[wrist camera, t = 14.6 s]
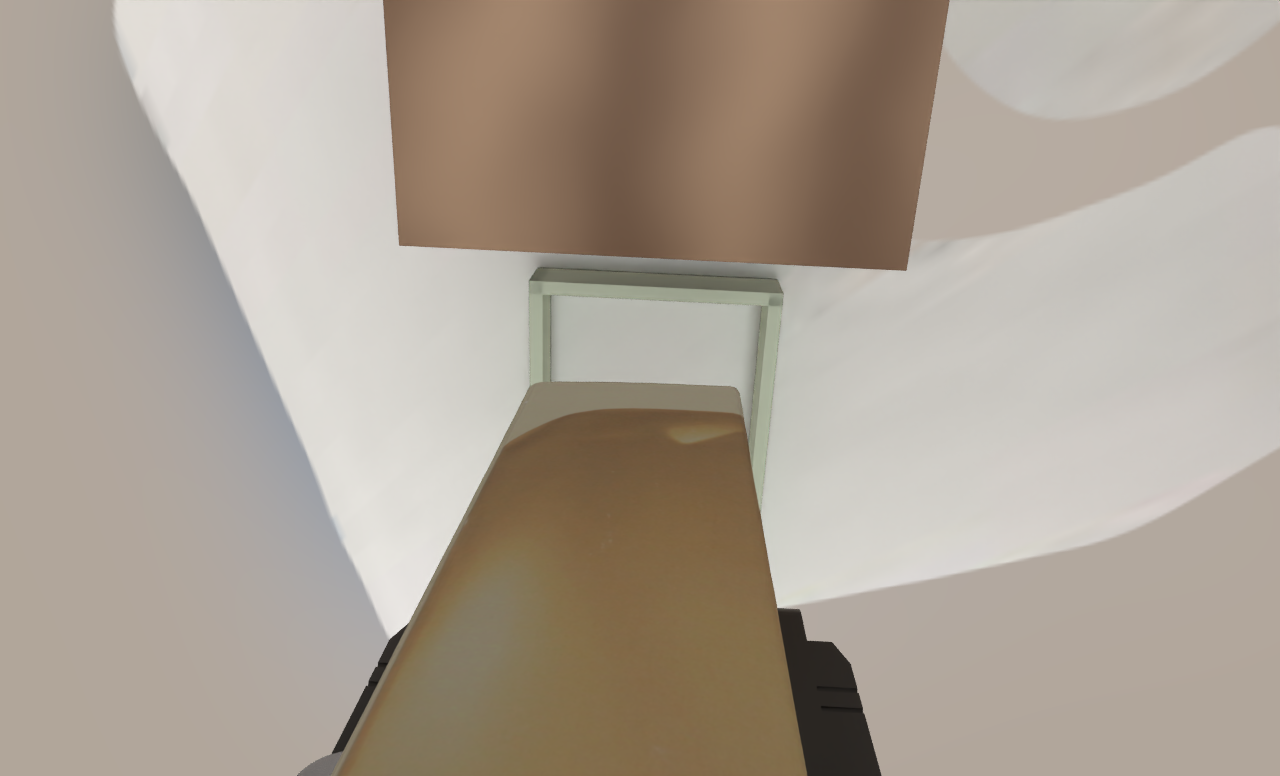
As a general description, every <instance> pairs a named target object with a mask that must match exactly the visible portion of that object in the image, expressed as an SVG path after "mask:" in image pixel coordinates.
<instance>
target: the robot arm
mask: <svg viewBox="0 0 1280 776" xmlns="http://www.w3.org/2000/svg"><path fill="white" fill-rule="evenodd" d="M777 610H778V616H779V622H780V628H781V633H782V639H783V644H784V650H785V655H786V661H787V667H788V672H789V678H790V683H791V689H792V695H793V700H794V706H795V712H796V717H797V723H798V728H799V733H800V739H801V744H802V749H803V755H804V760H805V766H806V771H807V776H881V772H880V769H879V765H878V762H877V758H876V754H875V751H874V747H873V743H872V740H871V736H870V733H869V729H868V725H867V722H866V718H865V715H864V713H863V707H862V704H861V700H860V696H859V693H857V685H856V682H855V678H854V675H853V671H852V668H851V664H850V663H849V662H848V660H847V659H846V658H845V657H844V656H843V655H842V653H841V652H840V651H839V650H838V649H837V647H836V646H835V645H834V644H833V643H832V642H821V641H807V639H806V634H805V630H804V625H803V620H802V616H801V612H800V610H799V609H784V608H777ZM408 624H409V623H408ZM408 624H407V625H406V626H405V627H404V628H403V629H401V630H400V631H399V632H398V633H397V634H396V635H394V636H393V637H392V638H391V639H390V640H389V642H388V644H387V646H386V648H385V650H384V652H383V654H382V656H381V658H380V660H379V662H378V667H376V668H375V670H374V672H373V673H372V676H371V677H370V679H369V684H368V686H366V687H365V689H364V691H363V693H362V695H361V697H360V699H359V701H358V703H357V705H356V707H355V709H354V711H353V713H352V715H351V717H350V719H349V721H348V723H347V725H346V727H345V729H344V731H343V733H342V735H341V737H340V739H339V741H338V742H337V744H336V746H335V748H334V750H333V752H332V754H331V755H328V756H325V757H323V758H321V759H319V760H317V761H315V762H313V763H312V764H310V765H308V766H307V767H306V768H305V769H303V770H302V771H301V772H300V773H299V774H298V775H297V776H331V774H332V772H333V770H334V768H335V766H336V764H337V763H338V761H339V759H340V757H341V755H342V753H343V751H344V749H345V747H346V745H347V743H348V741H349V739H350V737H351V735H352V733H353V732H354V730H355V728H356V726H357V724H358V722H359V720H360V718H361V716H362V714H363V712H364V710H365V708H366V706H367V704H368V702H369V700H370V698H371V696H372V694H373V692H374V690H375V689H376V687H377V685H378V683H379V681H380V679H381V677H382V675H383V673H384V671H385V669H386V667H387V665H388V663H389V661H390V659H391V657H392V655H393V653H394V651H395V649H396V647H397V645H398V643H399V641H400V639H401V637H402V635H403V633H404V631H405V629H406V627H407V626H408Z"/></svg>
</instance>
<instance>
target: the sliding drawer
mask: <svg viewBox="0 0 1280 776" xmlns="http://www.w3.org/2000/svg"><path fill="white" fill-rule="evenodd" d="M551 295H560V296H579V297H599V298H619V299H638V300H658V301H678V302H697V303H717V304H736V305H756V306H762V310H761V321H760V331H759V341H758V352H757V362H756V372H755V383H754V393H753V403H752V414H751V424H750V434H749V451H750V459H751V465H752V470H753V478H754V483H755V488H756V493H757V499H758V504H759V509H760V512H761V503H762V493H763V484H764V474H765V465H766V456H767V446H768V437H769V427H770V418H771V408H772V399H773V389H774V380H775V371H776V361H777V352H778V342H779V333H780V323H781V314H782V305H783V295H784V293H783V291H782V289H781V287H780V284H779V282H778V280H773V279H754V278H734V277H714V276H694V275H674V274H654V273H634V272H614V271H594V270H574V269H554V268H537V270H536V271H535V273H534V274H533V275H532V277H531V278H530V280H529V355H530V386H531V385H533V384H535V383H539V382H550V332H551Z"/></svg>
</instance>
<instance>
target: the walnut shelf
mask: <svg viewBox="0 0 1280 776" xmlns="http://www.w3.org/2000/svg"><path fill="white" fill-rule="evenodd" d="M383 5H384V21H385V36H386V51H387V67H388V82H389V97H390V113H391V128H392V143H393V159H394V174H395V189H396V205H397V220H398V235H399V246H419V247H440V248H460V249H480V250H500V251H520V252H540V253H560V254H581V255H601V256H621V257H641V258H661V259H681V260H702V261H722V262H742V263H762V264H782V265H802V266H822V267H843V268H863V269H883V270H903V271H906V270H907V264H908V257H909V251H910V245H911V239H912V232H913V226H914V220H915V213H916V207H917V201H918V195H919V188H920V181H921V176H922V170H923V163H924V156H925V150H926V144H927V138H928V132H929V125H930V119H931V113H932V107H933V101H934V100H933V99H934V94H935V88H936V81H937V75H938V69H939V62H940V56H941V50H942V44H943V38H944V32H945V25H946V19H947V13H948V6H949V0H383Z"/></svg>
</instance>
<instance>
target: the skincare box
mask: <svg viewBox="0 0 1280 776" xmlns="http://www.w3.org/2000/svg"><path fill="white" fill-rule="evenodd" d="M331 776H807V771H806V766H805V760H804V755H803V749H802V744H801V739H800V733H799V728H798V723H797V717H796V712H795V706H794V700H793V695H792V689H791V683H790V678H789V672H788V667H787V661H786V655H785V650H784V644H783V639H782V633H781V628H780V622H779V616H778V610H777V604H776V599H775V593H774V588H773V583H772V578H771V573H770V567H769V561H768V555H767V549H766V544H765V538H764V533H763V526H762V520H761V514H760V509H759V504H758V499H757V493H756V488H755V483H754V478H753V470H752V465H751V459H750V451H749V445H748V439H747V433H746V428H745V422H744V416H743V411H742V404H741V399H740V393H739V391H738V390H737V389H736V388H735V387H731V386H706V385H683V384H657V383H624V382H539V383H535V384H533V385H531V386H530V388H529V389H528V391H527V393H526V395H525V397H524V399H523V401H522V403H521V405H520V407H519V409H518V411H517V413H516V415H515V417H514V419H513V421H512V422H511V424H510V426H509V428H508V430H507V432H506V434H505V436H504V438H503V440H502V442H501V444H500V446H499V448H498V450H497V452H496V454H495V456H494V458H493V460H492V462H491V464H490V466H489V468H488V470H487V472H486V474H485V475H484V477H483V479H482V481H481V483H480V485H479V487H478V489H477V491H476V493H475V495H474V497H473V499H472V501H471V503H470V505H469V507H468V509H467V511H466V513H465V515H464V517H463V519H462V521H461V523H460V525H459V526H458V528H457V530H456V532H455V534H454V536H453V538H452V540H451V542H450V544H449V546H448V548H447V550H446V552H445V554H444V556H443V557H442V559H441V561H440V563H439V565H438V567H437V569H436V571H435V573H434V575H433V577H432V579H431V581H430V583H429V585H428V587H427V589H426V590H425V592H424V594H423V596H422V598H421V600H420V602H419V604H418V606H417V608H416V610H415V612H414V614H413V616H412V618H411V620H410V622H409V624H408V626H407V627H406V629H405V631H404V633H403V635H402V637H401V639H400V641H399V643H398V645H397V647H396V649H395V651H394V653H393V655H392V657H391V659H390V661H389V663H388V665H387V667H386V669H385V671H384V673H383V675H382V677H381V679H380V681H379V683H378V685H377V687H376V689H375V690H374V692H373V694H372V696H371V698H370V700H369V702H368V704H367V706H366V708H365V710H364V712H363V714H362V716H361V718H360V720H359V722H358V724H357V726H356V728H355V730H354V732H353V733H352V735H351V737H350V739H349V741H348V743H347V745H346V747H345V749H344V751H343V753H342V755H341V757H340V759H339V761H338V763H337V764H336V766H335V768H334V770H333V772H332V774H331Z"/></svg>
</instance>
